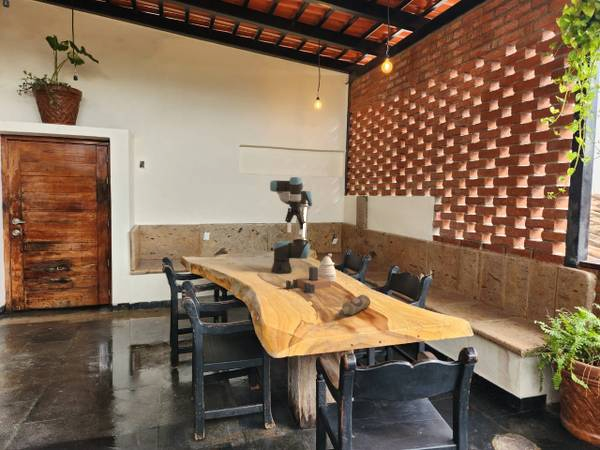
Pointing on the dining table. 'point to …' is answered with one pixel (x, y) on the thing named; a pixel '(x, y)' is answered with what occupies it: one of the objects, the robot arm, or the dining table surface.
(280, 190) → the robot arm
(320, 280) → the end holder
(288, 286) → the clip
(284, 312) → the dining table surface
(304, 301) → the dining table surface
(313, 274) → the plug
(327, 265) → the honey pot
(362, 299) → the decorative bottle
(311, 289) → the clip
